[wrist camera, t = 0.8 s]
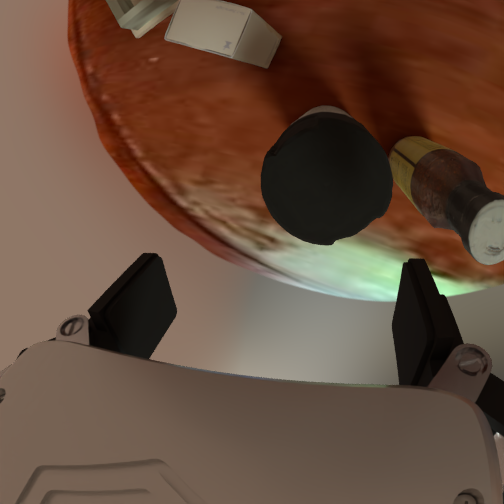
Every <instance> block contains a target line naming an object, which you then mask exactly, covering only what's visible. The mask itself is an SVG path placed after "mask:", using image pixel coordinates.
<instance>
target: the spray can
mask: <svg viewBox="0 0 504 504" xmlns="http://www.w3.org/2000/svg"><path fill="white" fill-rule="evenodd" d="M392 187H393V177H392V171H391V167H390V163H389V160H388V158H387V155H386V153H385V151H384V150H383V148H382V147H381V145H380V144H379V143H378V142H377V140H376V139H375V138H374V137H373V136H372V135H371V134H370V133H369V132H368V130H367V129H366V128H365V127H364V126H363V125H362V124H361V123H359V122H357V121H356V120H355V119H354V118H352V117H351V116H350V115H349V114H347V113H346V112H345V111H343V110H341V109H339V108H337V107H333V106H319V107H316V108H313V109H311V110H309V111H308V112H306V113H305V114H304V115H302V116H301V117H300V118H299V119H297V120H296V121H295V122H293V123H292V124H291V125H290V126H289V127H288V128H287V129H286V130H285V131H284V132H283V133H282V135H281V136H280V138H279V139H278V140H277V142H276V143H275V144H274V146H272V147H271V149H270V150H269V151H268V152H267V154H266V156H265V158H264V162H263V166H262V172H261V191H262V196H263V199H264V201H265V204H266V206H267V208H268V210H269V212H270V214H271V215H272V217H273V218H274V219H275V221H276V222H277V223H278V224H279V225H280V226H281V227H282V228H284V229H285V230H286V231H287V232H288V233H290V234H291V235H293V236H295V237H297V238H299V239H301V240H303V241H305V242H309V243H312V244H318V245H332V244H333V243H334V242H335V241H336V240H339V239H342V238H346V237H350V236H353V235H355V234H357V233H358V232H360V231H361V230H362V229H364V228H365V227H367V226H368V225H369V223H371V222H372V221H373V220H374V219H376V218H380V217H382V216H383V215H384V214H385V212H386V211H387V209H388V207H389V204H390V201H391V198H392Z"/></svg>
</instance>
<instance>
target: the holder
mask: <svg viewBox="0 0 504 504" xmlns="http://www.w3.org/2000/svg"><path fill="white" fill-rule="evenodd" d="M106 1H107V3H108V5H109V7H110V9H111V10H112V12H113V14H114V16H115V18H116V20H117V21H118V23H119V25H120V27H121V28H126V29H131V30H132V32H133V34H134V36H135V37H136V38H140V37H141V36H143V35H144V34H145V33H146V32H148V31H149V30H150V29H151V28H153V27H154V26H155V25H157V24H158V23H159V22H161V21H162V20H164V19H165V18H166V17H168V16H169V15H171V14H172V13H173V12H175V10H176V8H177V6H178V3H179V1H180V0H106Z"/></svg>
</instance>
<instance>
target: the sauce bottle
mask: <svg viewBox="0 0 504 504" xmlns="http://www.w3.org/2000/svg"><path fill="white" fill-rule="evenodd" d="M388 160H389V163H390V167H391V171H392V177H393V179H394V181H395V182H396V184H397V185H398V186H399V187H400V188H401V190H402V191H403V192H404V193H405V194H406V196H407V197H408V198H409V199H410V201H411V202H412V203H413V204H414V206H415V207H416V208H417V210H418V211H419V212H420V213H421V214H422V215H423V216H424V217H425V218H426V219H427V220H428V222H429V223H430V224H431V225H432V226H433V227H434V228H444V229H450V230H454V231H455V232H456V233H457V234H459V236H460V237H461V239H462V243H463V245H464V248H465V249H466V250H467V251H468V252H469V253H470V254H471V255H472V257H473V258H474V259H475V260H476V261H478V262H480V263H482V264H485V265H491V264H496V263H498V262H501V261H502V260H504V196H503V195H501V194H500V193H496V192H492V191H491V190H489V189H488V188H487V187H486V184H485V182H484V179H483V176H482V172H481V170H480V167H479V166H478V165H477V164H476V163H474V162H473V161H471V160H469V159H467V158H466V157H464V156H463V155H460V154H459V153H457V152H456V151H453V150H451V149H449V148H446V147H444V146H442V145H439V144H437V143H435V142H433V141H430V140H428V139H426V138H423V137H418V136H408V137H404V138H403V139H401V140H399V141H398V142H397V143H396V144H395V145H394V146H393V147H392V148H391V150H390V153H389V158H388Z"/></svg>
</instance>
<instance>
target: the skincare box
mask: <svg viewBox="0 0 504 504" xmlns="http://www.w3.org/2000/svg"><path fill="white" fill-rule="evenodd" d="M164 38H165V40H167V41H171V42H174V43H178V44H182V45H185V46H189V47H193V48H196V49H200V50H204V51H207V52H211V53H215V54H218V55H222V56H225V57H229V58H232V59H235V60H239V61H243V62H246V63H250V64H253V65H257V66H260V67H263V68H268V67H269V65H270V63H271V60H272V58H273V56H274V54H275V52H276V50H277V47H278V45H279V43H280V40H281V38H282V36H281V35H280V34H279V33H277V32H276V31H275V30H274V29H273V28H272V27H271V26H270V25H269V24H268V23H266V22H265V21H264V20H263V19H262V18H261V17H260V16H259V15H258V14H256V13H255V12H254V11H253V10H252V9H250V8H247V7H244V6H240V5H237V4H233V3H229V2H225V1H221V0H180V1H179V3H178V6H177V8H176V10H175V12H174V14H173V17H172V19H171V22H170V24H169V27H168V29H167V32H166V34H165V37H164Z"/></svg>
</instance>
